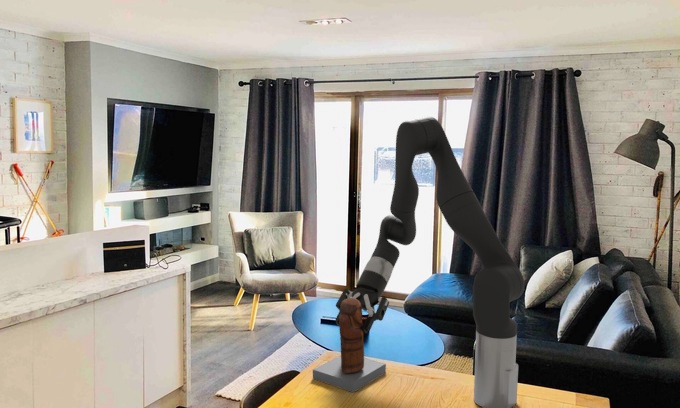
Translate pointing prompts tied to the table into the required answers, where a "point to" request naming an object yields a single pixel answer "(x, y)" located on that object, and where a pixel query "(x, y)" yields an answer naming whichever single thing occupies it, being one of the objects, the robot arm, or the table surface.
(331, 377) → the base
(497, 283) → the robot arm
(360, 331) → the wooden figurine
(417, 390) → the table surface
